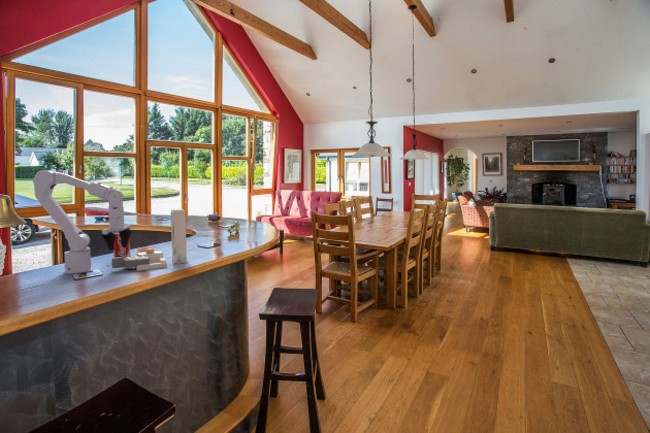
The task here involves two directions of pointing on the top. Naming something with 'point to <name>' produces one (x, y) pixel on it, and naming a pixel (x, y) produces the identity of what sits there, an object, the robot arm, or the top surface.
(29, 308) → the top surface
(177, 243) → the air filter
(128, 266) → the cartridge
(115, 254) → the soda can
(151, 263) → the cradle
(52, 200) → the robot arm
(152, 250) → the plunger
